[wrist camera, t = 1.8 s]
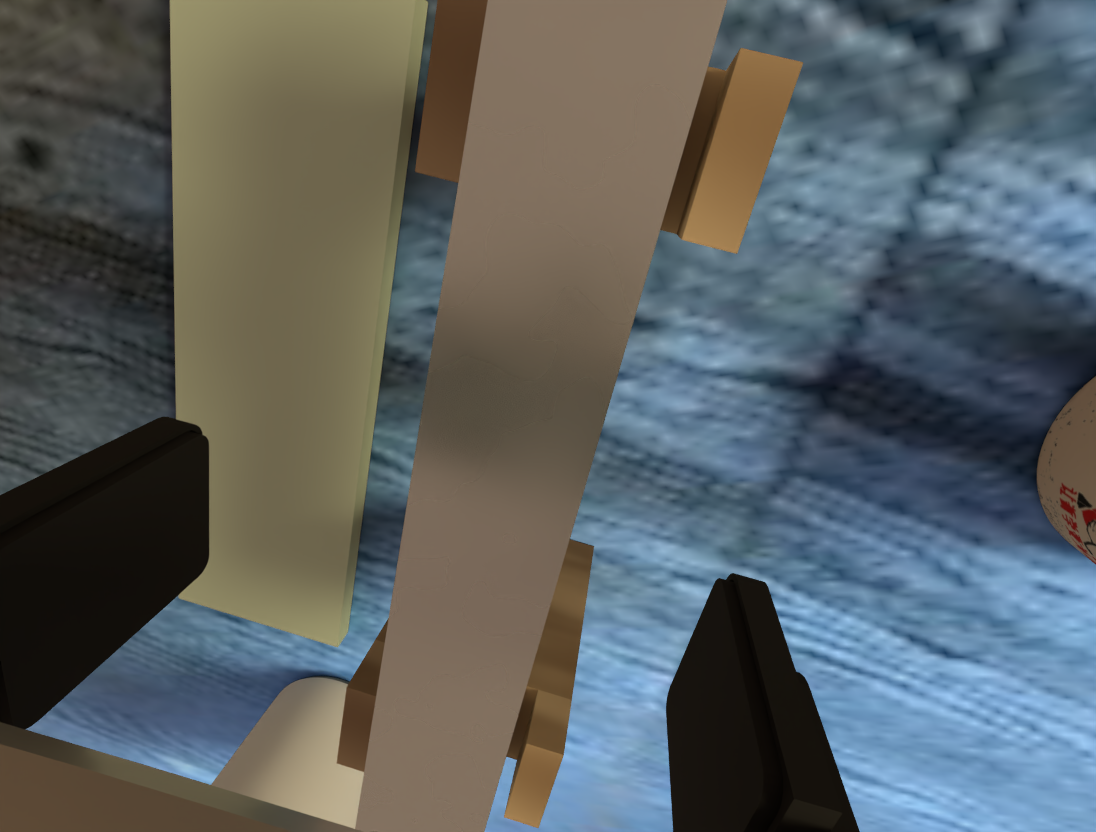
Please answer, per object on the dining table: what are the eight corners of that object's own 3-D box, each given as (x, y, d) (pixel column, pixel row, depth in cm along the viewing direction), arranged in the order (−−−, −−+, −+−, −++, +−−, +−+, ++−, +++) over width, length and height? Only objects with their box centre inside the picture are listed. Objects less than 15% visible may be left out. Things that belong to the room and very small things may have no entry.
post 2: (693, 227, 19) (737, 253, 10) (520, 183, 20) (414, 171, 11) (724, 129, 18) (803, 61, 9) (540, 85, 19) (440, -23, 10)
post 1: (576, 602, 25) (538, 828, 16) (445, 563, 26) (336, 763, 17) (593, 546, 24) (563, 755, 15) (456, 506, 25) (346, 687, 16)
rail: (492, 787, 19) (454, 933, 15) (403, 758, 19) (343, 896, 15) (727, -31, 10) (772, -157, 7) (564, -67, 11) (521, -210, 7)
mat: (347, 632, 28) (337, 647, 27) (193, 585, 28) (178, 598, 28) (428, 2, 18) (416, -8, 17) (192, -54, 19) (168, -67, 18)
